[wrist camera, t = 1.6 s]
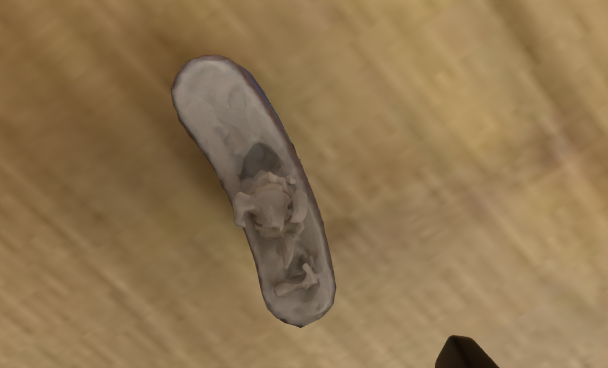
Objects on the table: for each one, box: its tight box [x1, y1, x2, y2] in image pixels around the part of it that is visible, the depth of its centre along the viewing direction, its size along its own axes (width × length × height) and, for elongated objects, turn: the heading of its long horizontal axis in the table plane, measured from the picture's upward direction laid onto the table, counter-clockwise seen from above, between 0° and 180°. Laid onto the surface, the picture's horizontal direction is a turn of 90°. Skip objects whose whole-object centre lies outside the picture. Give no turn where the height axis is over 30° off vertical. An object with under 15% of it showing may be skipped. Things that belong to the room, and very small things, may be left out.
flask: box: [171, 55, 336, 328], centre depth 18 cm, size 9×3×11 cm, turn 23°
